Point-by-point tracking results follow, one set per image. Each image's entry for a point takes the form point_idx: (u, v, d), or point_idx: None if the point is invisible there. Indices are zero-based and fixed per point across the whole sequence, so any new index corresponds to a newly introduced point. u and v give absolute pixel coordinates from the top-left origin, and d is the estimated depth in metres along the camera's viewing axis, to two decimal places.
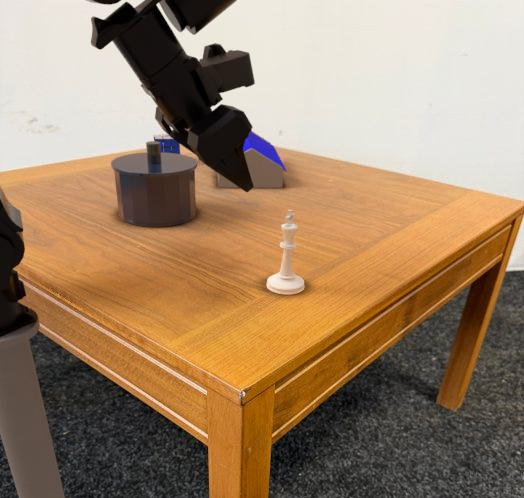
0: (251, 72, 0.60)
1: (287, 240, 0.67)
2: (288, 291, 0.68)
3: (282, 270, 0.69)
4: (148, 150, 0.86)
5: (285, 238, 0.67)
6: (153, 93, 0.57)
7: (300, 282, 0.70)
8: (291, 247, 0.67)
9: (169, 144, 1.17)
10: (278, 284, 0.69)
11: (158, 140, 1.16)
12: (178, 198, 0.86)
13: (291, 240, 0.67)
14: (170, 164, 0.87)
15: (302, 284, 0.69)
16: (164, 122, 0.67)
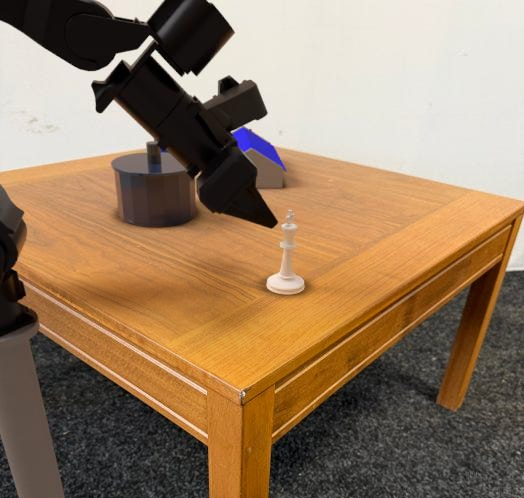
0: (261, 103, 0.56)
1: (287, 240, 0.67)
2: (288, 291, 0.68)
3: (282, 270, 0.69)
4: (148, 150, 0.86)
5: (285, 238, 0.67)
6: (159, 145, 0.56)
7: (300, 282, 0.70)
8: (291, 247, 0.67)
9: None
10: (278, 284, 0.69)
11: None
12: (178, 198, 0.86)
13: (291, 240, 0.67)
14: (170, 164, 0.87)
15: (302, 284, 0.69)
16: None
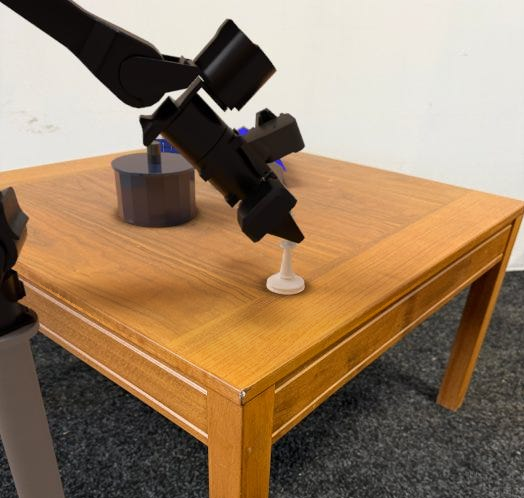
0: (300, 137, 0.59)
1: (287, 240, 0.67)
2: (288, 291, 0.68)
3: (282, 270, 0.69)
4: (148, 150, 0.86)
5: None
6: (202, 177, 0.59)
7: (300, 282, 0.70)
8: (291, 247, 0.67)
9: (169, 144, 1.17)
10: (278, 284, 0.69)
11: (158, 140, 1.16)
12: (178, 198, 0.86)
13: None
14: (170, 164, 0.87)
15: (302, 284, 0.69)
16: None
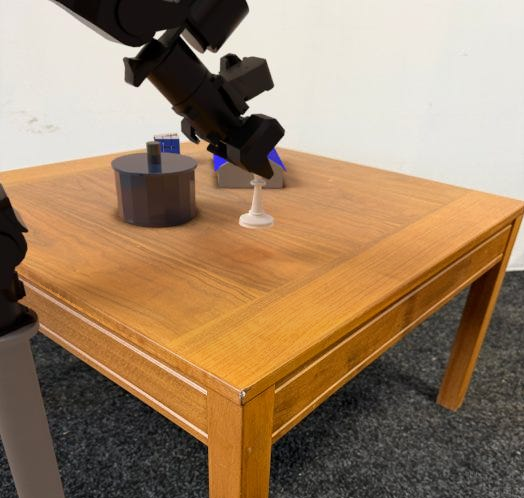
0: (270, 76, 0.65)
1: (258, 177, 0.73)
2: (263, 226, 0.74)
3: (254, 207, 0.75)
4: (148, 150, 0.86)
5: (256, 176, 0.72)
6: (189, 116, 0.62)
7: (270, 217, 0.76)
8: (262, 184, 0.73)
9: (169, 144, 1.17)
10: (252, 220, 0.74)
11: (158, 140, 1.16)
12: (178, 198, 0.86)
13: (261, 177, 0.73)
14: (170, 164, 0.87)
15: (273, 219, 0.76)
16: (193, 135, 0.72)
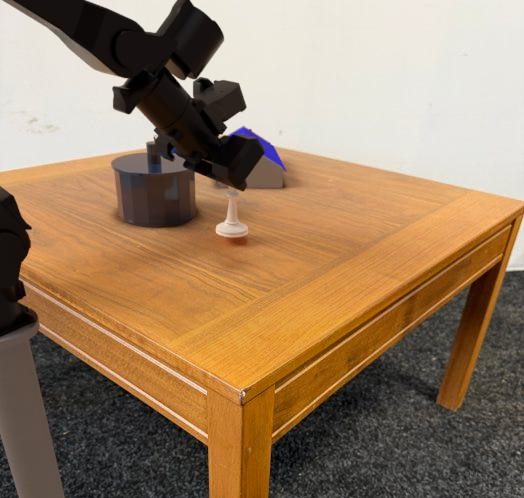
0: (243, 98, 0.71)
1: (233, 190, 0.79)
2: (240, 234, 0.81)
3: (230, 217, 0.81)
4: (148, 150, 0.86)
5: (231, 188, 0.78)
6: (175, 138, 0.67)
7: (245, 225, 0.82)
8: (237, 195, 0.79)
9: None
10: (230, 229, 0.80)
11: None
12: (178, 198, 0.86)
13: (236, 189, 0.79)
14: (170, 164, 0.87)
15: (247, 227, 0.82)
16: (169, 153, 0.76)
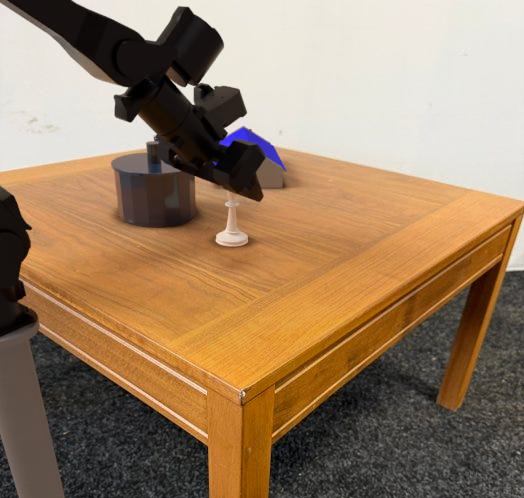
0: None
1: (232, 200, 0.79)
2: (240, 243, 0.81)
3: (230, 227, 0.81)
4: (148, 150, 0.86)
5: (231, 198, 0.79)
6: (176, 145, 0.68)
7: (244, 234, 0.83)
8: (237, 205, 0.80)
9: None
10: (230, 238, 0.81)
11: None
12: (178, 198, 0.86)
13: (235, 199, 0.80)
14: None
15: (247, 236, 0.83)
16: (171, 159, 0.77)
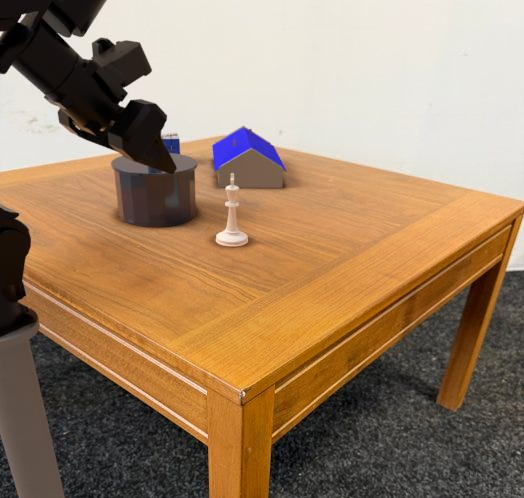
0: (147, 60, 0.63)
1: (232, 200, 0.79)
2: (240, 243, 0.81)
3: (230, 227, 0.81)
4: None
5: (231, 198, 0.79)
6: (63, 104, 0.59)
7: (244, 234, 0.83)
8: (237, 205, 0.80)
9: (169, 144, 1.17)
10: (230, 238, 0.81)
11: None
12: (178, 198, 0.86)
13: (235, 199, 0.80)
14: None
15: (247, 236, 0.83)
16: (72, 125, 0.68)
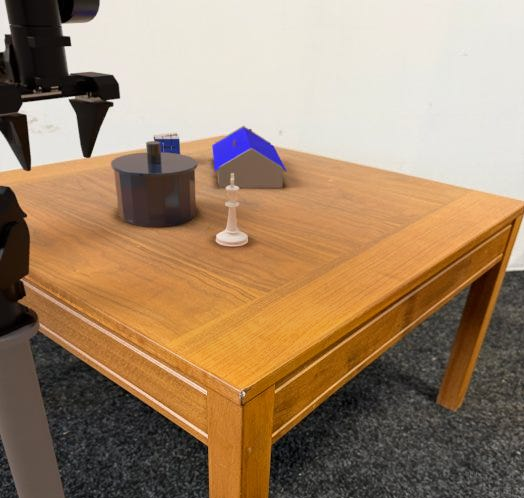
0: None
1: (232, 200, 0.79)
2: (240, 243, 0.81)
3: (230, 227, 0.81)
4: (148, 150, 0.86)
5: (231, 198, 0.79)
6: (69, 39, 0.64)
7: (244, 234, 0.83)
8: (237, 205, 0.80)
9: (169, 144, 1.17)
10: (230, 238, 0.81)
11: (158, 140, 1.16)
12: (178, 198, 0.86)
13: (235, 199, 0.80)
14: (170, 164, 0.87)
15: (247, 236, 0.83)
16: None
